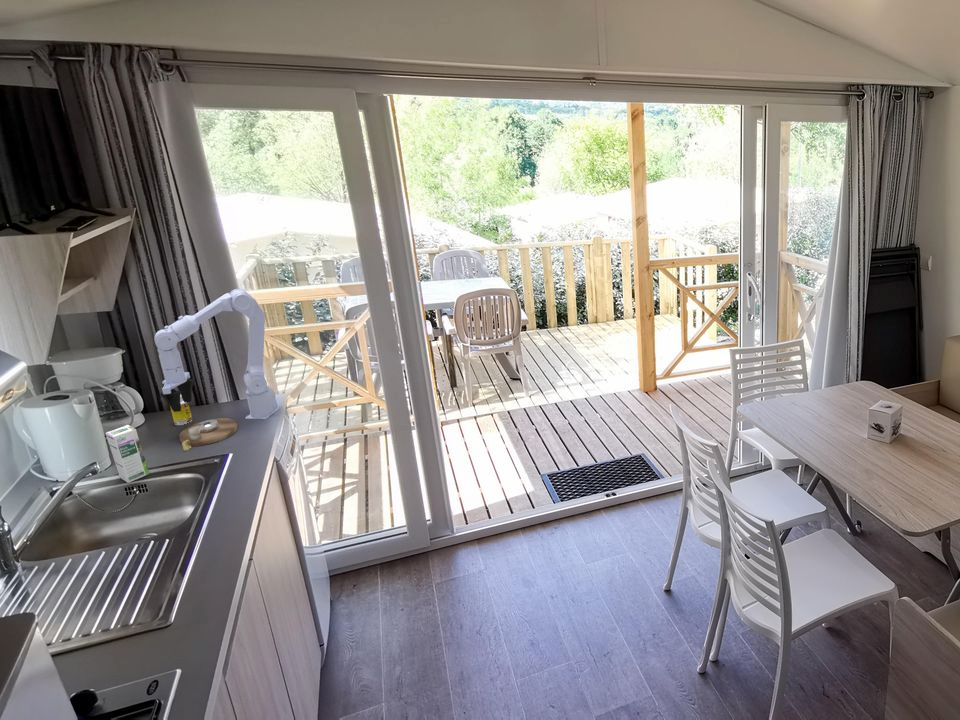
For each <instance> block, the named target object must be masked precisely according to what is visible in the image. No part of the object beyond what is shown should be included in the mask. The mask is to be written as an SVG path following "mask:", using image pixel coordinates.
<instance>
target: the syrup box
mask: <svg viewBox="0 0 960 720" xmlns="http://www.w3.org/2000/svg"><path fill="white" fill-rule="evenodd" d="M138 435H139V434H138V432H137V428H135V427H133V426H131V425H129V424H126V425H124V426H121V427H119V428H115V429H113V430H110V431H106V432H105V436H106V439H107V442H108V446H109V449H110V452H111V454H112V457H113V460H114V463H115V466H116V469H117V473H118V475H119V478H120V479H122V480H123V481H124V482H126V483H127V484H129V483H132V482H134V481H136V480H139V479H142V478H143V477H145V476H148V475H150V472H149V468H148V467H149V466H148V464H147V461H146V458H145V455H144V451H143V448H142V445H141V442H140V439H139V436H138Z"/></svg>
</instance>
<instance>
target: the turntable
mask: <svg viewBox="0 0 960 720" xmlns="http://www.w3.org/2000/svg"><path fill="white" fill-rule="evenodd" d="M209 420H217V422H218V429H216V430H215V431H212V432H209V433H200V430H199V427H198V426H197V425H198V424H199V423H201V422H203V421H204V420H202V421H199V422H196V423H194V424H191V425H189V426H188V427H186V428H184V429H183V430H181V431H180V433H179V435H178V438H179V441H180V443H181V444H182V442H184V441H185V440H190V443H191V447H202V446H208V445H211V444H215V443H219V442H221V441H224V440H226V439H228V438H230V437H231V436H233V435H234V434H235V433H236V432H237V431H238V424H237V421H236V420H235V419H233V418H227V417H219V418H217V417H216V418H211V419H209Z"/></svg>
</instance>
